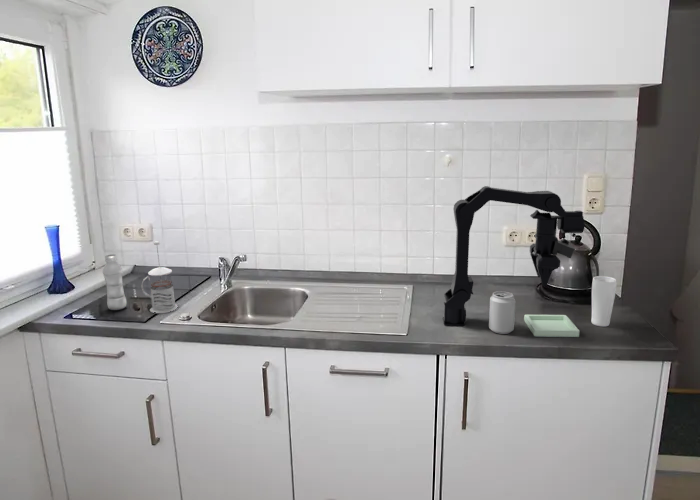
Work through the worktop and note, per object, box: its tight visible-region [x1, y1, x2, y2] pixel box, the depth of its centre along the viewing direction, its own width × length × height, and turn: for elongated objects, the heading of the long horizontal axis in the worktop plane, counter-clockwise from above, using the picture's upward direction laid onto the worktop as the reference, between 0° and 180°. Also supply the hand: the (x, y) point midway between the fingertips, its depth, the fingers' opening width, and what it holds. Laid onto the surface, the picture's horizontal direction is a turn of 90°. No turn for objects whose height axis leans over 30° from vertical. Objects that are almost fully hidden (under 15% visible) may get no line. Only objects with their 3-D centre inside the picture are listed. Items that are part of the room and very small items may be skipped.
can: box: [488, 290, 516, 335], centre depth 160 cm, size 8×8×12 cm
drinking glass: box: [590, 275, 617, 328], centre depth 163 cm, size 7×7×15 cm
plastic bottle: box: [102, 253, 127, 311], centre depth 185 cm, size 6×7×20 cm
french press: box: [140, 240, 179, 314], centre depth 184 cm, size 10×12×25 cm
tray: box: [523, 314, 580, 338], centre depth 162 cm, size 13×13×2 cm
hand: (542, 281), depth 163 cm, fingers open, 9 cm apart
